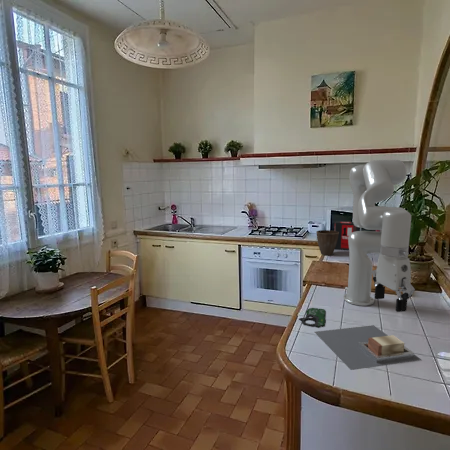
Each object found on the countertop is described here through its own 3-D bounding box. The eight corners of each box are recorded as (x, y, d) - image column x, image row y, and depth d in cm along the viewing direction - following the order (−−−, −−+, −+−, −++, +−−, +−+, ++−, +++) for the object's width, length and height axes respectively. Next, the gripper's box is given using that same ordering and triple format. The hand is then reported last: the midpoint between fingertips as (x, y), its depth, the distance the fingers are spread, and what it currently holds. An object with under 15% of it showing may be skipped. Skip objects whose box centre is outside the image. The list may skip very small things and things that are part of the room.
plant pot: (312, 252, 232) (313, 230, 229) (332, 251, 233) (333, 229, 231) (320, 257, 217) (321, 234, 214) (341, 256, 218) (342, 233, 216)
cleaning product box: (356, 248, 242) (358, 222, 239) (357, 250, 234) (359, 223, 231) (333, 246, 247) (335, 221, 244) (334, 249, 239) (335, 223, 235)
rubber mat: (314, 332, 116) (314, 331, 116) (373, 326, 120) (373, 325, 120) (350, 371, 93) (350, 369, 93) (421, 361, 98) (422, 359, 98)
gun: (301, 306, 136) (326, 309, 133) (301, 309, 137) (326, 312, 133) (297, 323, 121) (325, 326, 118) (297, 326, 121) (325, 330, 118)
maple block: (392, 346, 105) (393, 335, 105) (403, 354, 101) (404, 343, 100) (367, 349, 104) (368, 338, 103) (377, 358, 99) (378, 346, 98)
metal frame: (358, 347, 105) (358, 342, 105) (393, 342, 108) (393, 338, 107) (376, 362, 97) (376, 358, 96) (413, 357, 99) (414, 353, 99)
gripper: (427, 258, 89) (421, 315, 92) (385, 244, 106) (381, 293, 109) (403, 259, 88) (398, 318, 91) (365, 245, 105) (361, 295, 107)
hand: (389, 304), depth 100 cm, fingers open, 9 cm apart
